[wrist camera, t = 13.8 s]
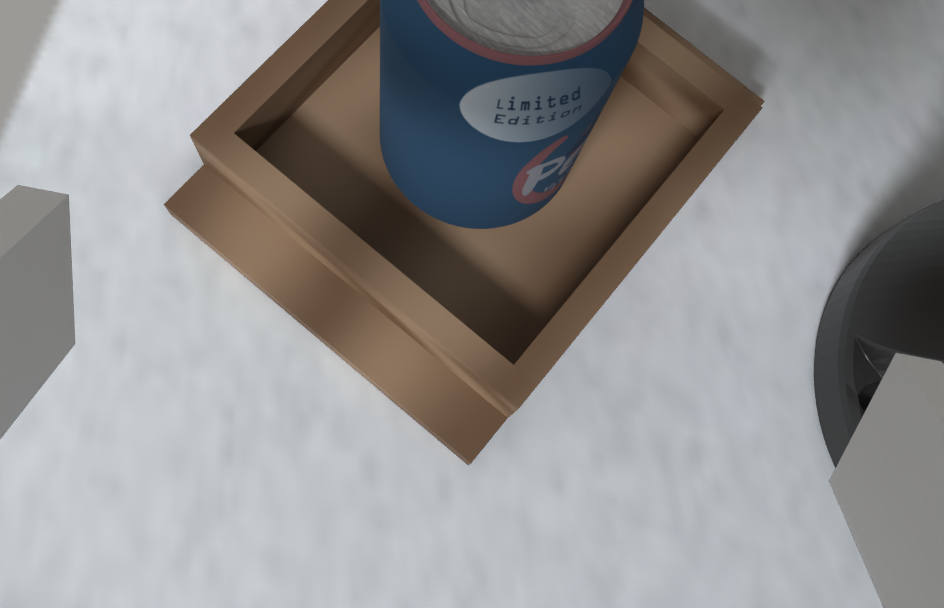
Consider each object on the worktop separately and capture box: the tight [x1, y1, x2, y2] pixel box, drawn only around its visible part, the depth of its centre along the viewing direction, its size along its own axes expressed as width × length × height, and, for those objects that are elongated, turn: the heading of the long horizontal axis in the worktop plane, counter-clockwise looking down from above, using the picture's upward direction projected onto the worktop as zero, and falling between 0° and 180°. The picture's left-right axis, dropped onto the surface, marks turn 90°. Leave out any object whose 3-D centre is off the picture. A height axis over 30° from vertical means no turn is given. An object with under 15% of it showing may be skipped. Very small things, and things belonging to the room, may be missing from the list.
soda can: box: [380, 0, 644, 229], centre depth 27 cm, size 7×7×12 cm
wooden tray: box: [164, 0, 765, 465], centre depth 33 cm, size 14×18×4 cm
